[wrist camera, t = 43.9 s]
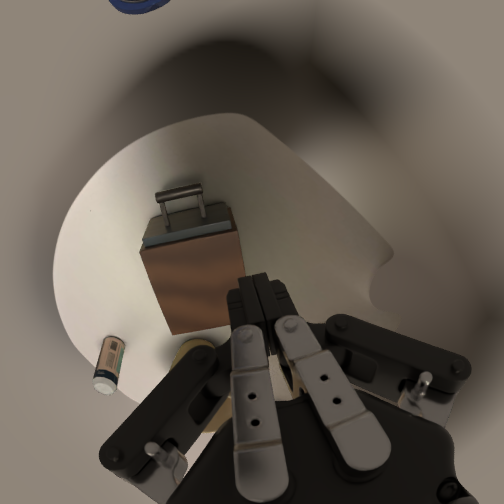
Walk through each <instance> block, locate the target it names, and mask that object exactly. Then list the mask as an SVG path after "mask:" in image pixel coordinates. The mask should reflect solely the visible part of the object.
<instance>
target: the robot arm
mask: <svg viewBox="0 0 504 504" xmlns="http://www.w3.org/2000/svg"><path fill="white" fill-rule="evenodd" d="M120 1H122V2H125V3H141V2H145V1H148V0H120ZM237 280H238V285H239V288H236V289H231V290H229V291H228V293H227V296H226V300H227V306H228V313H229V319H230V325H231V336H230V338H229V340H228V341H227V342H226V343H224V344H223V345H221V346H219V347H217V348H215V349H214V348H212V347H211V346H208V345H198V346H195V347H193V348H191V349H190V350H188V351H187V353H186V354H185V355H184V356H183V357H182V358H181V359H180V360H179V362H178V363H177V364H176V365H175V366H174V367H173V368H172V369H171V370H170V372H169V373H168V374H167V375H166V376H165V377H164V378H163V379H162V381H161V382H160V383H159V384H158V385H157V386H156V387H155V388H154V389H153V390H152V392H151V393H150V394H149V395H148V396H147V397H146V398H145V399H144V400H143V401H142V403H141V404H140V405H139V406H138V407H137V408H136V409H135V410H134V411H133V412H132V414H131V415H130V416H129V417H128V418H127V419H126V420H125V421H124V422H123V424H121V426H120V427H119V428H118V429H117V430H116V431H115V432H114V433H113V434H112V435H111V436H110V437H109V438H108V439H107V441H106V442H105V443H104V444H103V445H102V446H101V448H100V451H99V459H100V462H101V464H102V465H103V466H104V467H105V468H106V469H108V470H110V471H111V472H113V473H114V474H115V475H116V476H118V477H120V478H121V479H123V480H125V481H127V482H128V483H130V484H132V485H134V486H135V487H137V488H138V489H139V490H141V491H142V492H143V493H145V494H146V495H147V496H148V497H150V498H151V499H153V500H154V501H155V502H157V503H158V504H479V503H478V502H477V500H476V499H475V498H474V497H473V496H472V495H471V494H470V493H469V492H468V491H467V490H466V489H465V488H464V487H463V486H462V485H461V484H460V483H459V481H458V479H457V477H456V473H455V467H454V443H453V440H452V437H451V435H450V434H449V432H448V431H447V430H446V429H445V426H446V423H447V421H448V418H449V415H450V412H451V410H452V407H453V404H454V400H455V397H456V395H457V394H458V392H459V391H460V389H461V388H462V387H463V385H464V384H465V382H466V381H467V379H468V377H469V376H470V374H471V364H470V362H469V361H468V360H467V359H466V358H465V357H463V356H461V355H458V354H456V353H453V352H450V351H447V350H444V349H441V348H438V347H435V346H432V345H430V344H427V343H424V342H421V341H418V340H415V339H412V338H410V337H407V336H404V335H401V334H398V333H396V332H393V331H390V330H387V329H385V328H382V327H379V326H376V325H374V324H371V323H368V322H366V321H363V320H360V319H357V318H355V317H352V316H349V315H346V314H336V315H333V316H331V317H330V318H329V319H328V320H327V321H326V324H313V323H308V322H306V321H305V320H304V319H303V318H302V317H300V316H299V315H298V312H297V310H296V308H295V306H294V304H293V302H292V300H291V297H290V295H289V293H288V292H287V289H286V287H285V285H284V284H283V283H282V282H280V281H279V280H273V281H269V279H268V276H267V274H266V272H265V273H260V274H255V275H252V277H251V276H246V277H241V278H237ZM269 348H270V351H269ZM270 352H271V355H276V354H277V357H278V360H279V367H280V370H281V372H282V375H283V377H284V379H285V382H286V384H287V386H288V389H289V391H290V393H291V396H292V398H293V400H290V401H275V400H274V395H273V389H272V383H271V378H270V372H269V361H268V356H270ZM350 383H352V384H354V385H356V386H359V387H361V388H363V389H365V390H368V391H370V392H373V393H375V394H377V395H380V396H382V397H384V398H387V399H389V400H392V401H394V402H397V403H398V407H397V406H394V405H392V404H390V403H388V402H385V401H383V400H381V399H379V398H377V397H375V396H373V395H370V394H368V393H366V392H364V391H361V390H357V389H354V388H353V387H352V385H351V384H350ZM230 392H231V404H232V417H231V418H229V419H228V420H226V421H225V422H224V423H223V424H222V425H221V426H220V427H219V428H218V429H217V431H216V432H215V434H214V435H213V437H212V438H211V440H210V441H209V443H208V444H207V446H206V447H205V449H204V450H203V451H202V453H201V454H200V456H199V457H198V459H197V460H196V461H195V463H194V464H193V466H192V467H191V468H190V470H189V471H188V473H187V474H186V475H185V477H184V474H185V472H186V470H187V467H188V462H187V459H186V457H185V456H184V455H185V454H186V453H187V451H188V450H189V449H190V447H191V446H192V445H193V444H194V442H195V441H196V440H197V438H198V437H199V436H200V434H201V433H202V432H203V430H204V429H205V428H206V426H207V425H208V424H209V422H210V421H211V420H212V418H213V417H214V416H215V414H216V413H217V411H218V410H219V409H220V407H221V406H222V405H223V403H224V402H225V400H226V399H227V398H228V396H229V393H230ZM183 477H184V478H183Z"/></svg>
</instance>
